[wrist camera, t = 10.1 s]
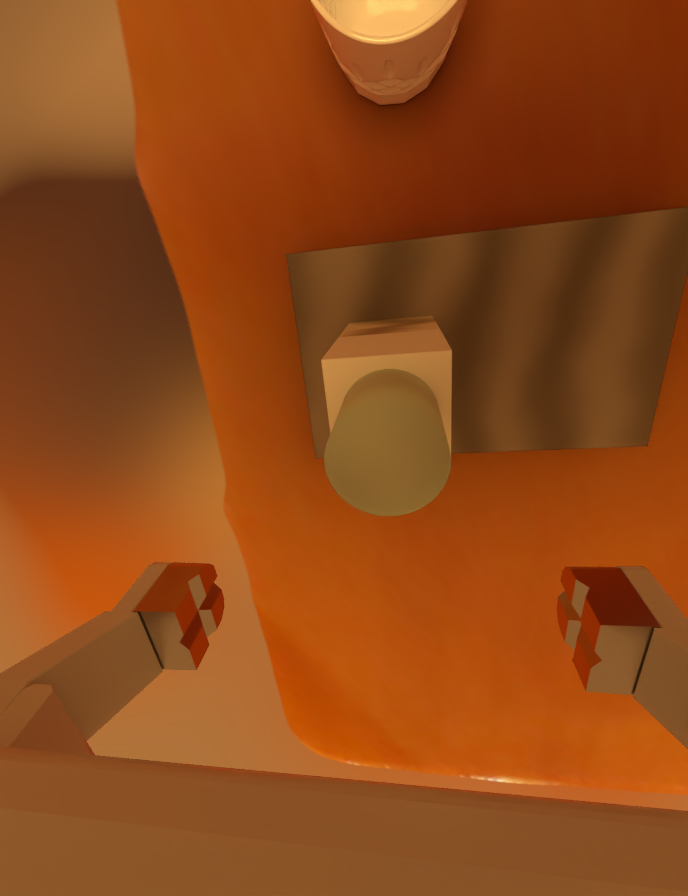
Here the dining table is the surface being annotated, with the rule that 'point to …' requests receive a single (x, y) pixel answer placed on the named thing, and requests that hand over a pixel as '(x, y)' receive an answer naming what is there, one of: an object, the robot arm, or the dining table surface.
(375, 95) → the white cup
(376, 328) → the tower base block
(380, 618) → the dining table surface
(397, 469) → the green cylinder
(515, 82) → the dining table surface
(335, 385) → the tower top block
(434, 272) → the walnut board
